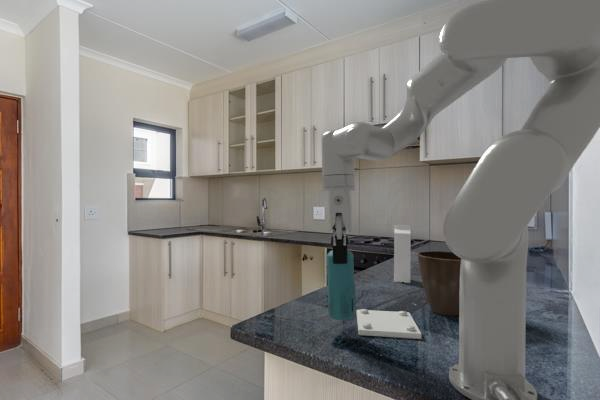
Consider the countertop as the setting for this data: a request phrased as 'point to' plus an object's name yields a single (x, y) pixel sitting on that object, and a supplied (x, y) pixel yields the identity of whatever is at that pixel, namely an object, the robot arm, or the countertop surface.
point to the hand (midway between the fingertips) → (340, 260)
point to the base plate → (387, 324)
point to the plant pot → (441, 280)
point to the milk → (402, 253)
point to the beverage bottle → (341, 287)
